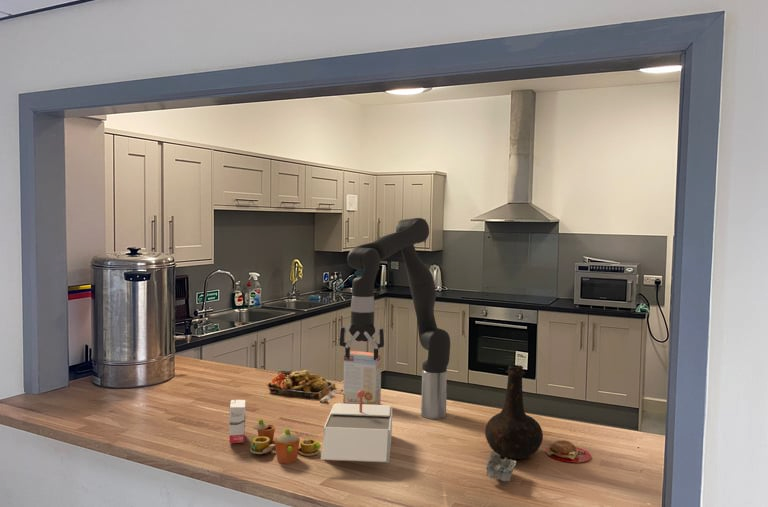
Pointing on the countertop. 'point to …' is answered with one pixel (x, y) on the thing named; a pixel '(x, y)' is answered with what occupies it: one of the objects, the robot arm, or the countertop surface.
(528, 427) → the glass bottle
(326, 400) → the food tray
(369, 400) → the cracker box
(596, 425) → the countertop surface
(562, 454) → the hamburger
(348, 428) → the carton
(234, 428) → the ink box
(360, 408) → the flap
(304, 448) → the toy tea set
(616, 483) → the countertop surface
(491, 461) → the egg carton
